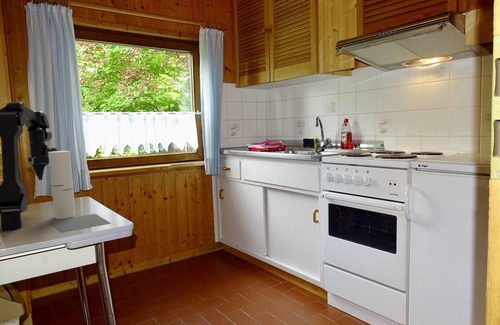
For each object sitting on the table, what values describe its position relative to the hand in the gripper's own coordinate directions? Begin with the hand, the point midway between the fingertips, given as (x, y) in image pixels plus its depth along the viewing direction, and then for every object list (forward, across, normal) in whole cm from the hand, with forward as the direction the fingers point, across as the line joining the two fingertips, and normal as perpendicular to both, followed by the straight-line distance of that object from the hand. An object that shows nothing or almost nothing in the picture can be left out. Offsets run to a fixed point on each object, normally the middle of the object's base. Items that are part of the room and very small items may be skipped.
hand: (40, 179), depth 147 cm
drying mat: (+13, -35, -6) cm, 38 cm away
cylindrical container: (+13, -21, -4) cm, 25 cm away
